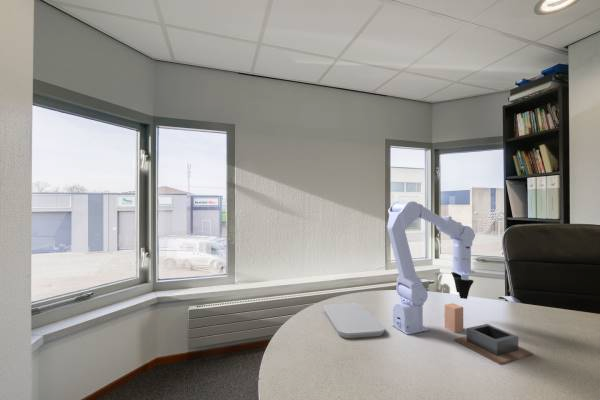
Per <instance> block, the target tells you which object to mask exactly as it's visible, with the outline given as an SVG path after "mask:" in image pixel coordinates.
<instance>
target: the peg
mask: <svg viewBox="0 0 600 400" xmlns="http://www.w3.org/2000/svg"><path fill="white" fill-rule="evenodd" d="M444 328H445V329H446V330H448V331H451V332H453V333H454V334H455V333H459V332H463V331H464V306H462V305H459V304H455V303H453V302H451V303H447V304H444Z"/></svg>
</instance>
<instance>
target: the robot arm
mask: <svg viewBox="0 0 600 400" xmlns="http://www.w3.org/2000/svg"><path fill="white" fill-rule="evenodd" d="M387 212H388V221H387V226H386V228H387V232H388V236H389V240H390V243H391V244H390V245H391V248H392V252H393V255H394V259H395V263H396V267H397V272H398V276H397V277H396V288H395V289H396V293H397V295H398V296H399V299H400V300H399V302H398V303H395V304H394V305H393V306H392V307H393V309H392V323H391V326H392V327H394V328H396V329H397V330H399V331H400V332H402V333H404V334H406V335H412V334H417V333H421V332H422V333H423V332H427V331H429V328H428V327H427V326H425V325H424V320H423V319H424V318H423V317H424V315H423V314H424V313H423V312H424V311H423V310H424V309H423V308H424V307H423V306H424V305H425V303H426V301H427V300H428V298H429V297H428V290H427V289H426V288H425V286H424V285H423V281H422V280H421V279H420V277H419V276H418V275H417V273H416V269H415V265H414V261H413V257H412V254H411V250H410V246H409V241H408V237H407V233H406V231H407V229H408V227H409V226H410V225H413V223H414V222H416V220H418V219H419V218H420V219H423V220H424V221H427V222H429V223H431V224H433V225H435V227H436V230H438V231H439V232H441V233H443V234H444V235H445V234H446V235H447V236H449V238H450V239H451V240H452V269H451V271H452V272H450V273H451V275H452V277H453V281H454V285H455V290H456V293H458V295H459V298H460V299H465V300H467V299H468V297H469V293H470V289H471V287H472V285H473V283H474V281H475V280H474V279H470V277H469V276H470V275H471V274H475V273H476V272H475V270H473V269H472V258H471V257H472V246H473V241H474V240H475V238H476V234H475V232H474V231H475V230H474V229H473V228H472V227H471V226H468V225H464V224H462V222H461V221H456V220H454V219H452V218H453V217H452V216H451V215H442V216H440V215H438V214H436V212H433V211H432V210H430V209H428V208H427V207H425V206H424V205H423V204H421V203H418V202H417V201H412V200H411V201H395V202H393V203H392V204H391V205H390V207H389V208H388V209H387Z"/></svg>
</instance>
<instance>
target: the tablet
mask: <svg viewBox="0 0 600 400" xmlns="http://www.w3.org/2000/svg"><path fill="white" fill-rule="evenodd" d="M322 309H323V312H324V313H325V315H326V316H327V318H328V319H329V321H330V322H331V324H332V325H333V327H334V329H335V330H336V332H337V333H338V335H339V336H340V337H342V338H344V339H354V338H366V337H367V338H370V337H380V336H382V335H383V333H385V332H386V327H385V326H384V325H383V324H382V323H381V322H380V321H379V320H378V319H377V318H376V317H375V316H374V315H373V314H372V313H371V312H370V311H368V309H367V308H365V307H364V306H363V305H362V304H360V303H356V302H349V303H348V302H346V303H330V304H324V305H323V306H322Z"/></svg>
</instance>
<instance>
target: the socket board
mask: <svg viewBox="0 0 600 400" xmlns="http://www.w3.org/2000/svg"><path fill="white" fill-rule="evenodd" d="M454 342H457V343H458V344H460V345H462V346H464V347H466V348H468V349H469V350H471V351H474V352H476V353H478V354H479V355H481V356H483V357H485V358H487V359H488V360H490V361H493V362H494V363H496V364H498V365H503V364H507V363H509V362H510V363H511V362H514V361H517V360H520V359H523V358H527V357H530V356H533V355H534V353H533V352H532V351H530V350H527V349H525V348H523V347H520V346H519V336H518V335H515V334H514V333H511V332H508V331H506V330H504V329H500V328H498V327H496V326H493V325H491V324H489V323H486V324H485V323H484V324H480V325H475V326H471V327H466V336H461V337H456V338H454Z"/></svg>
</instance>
